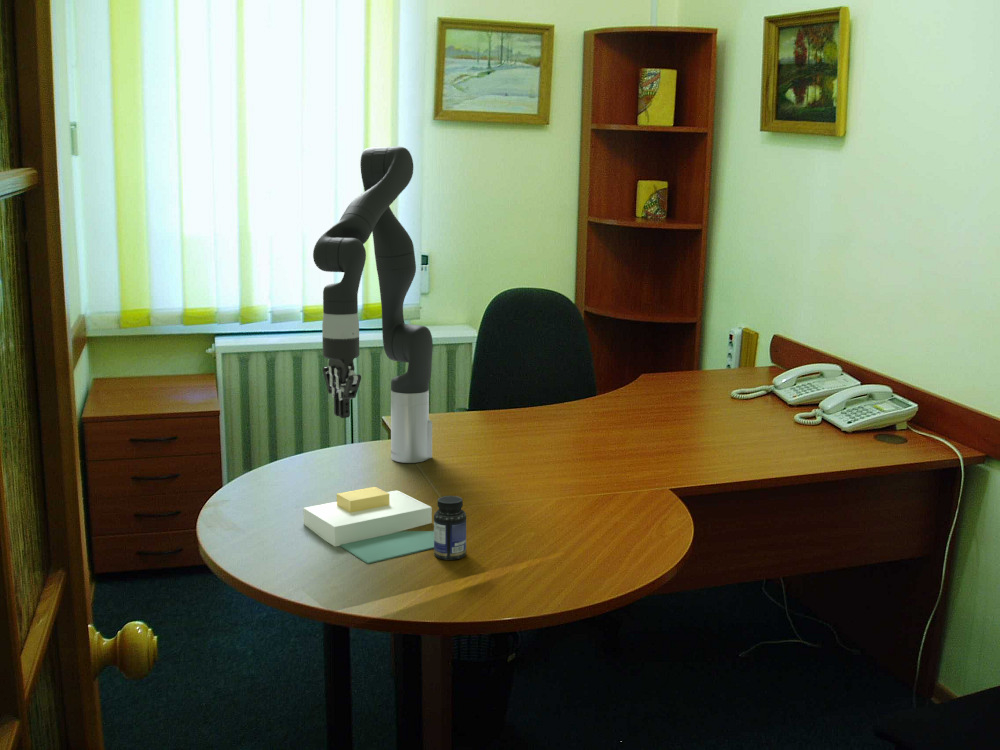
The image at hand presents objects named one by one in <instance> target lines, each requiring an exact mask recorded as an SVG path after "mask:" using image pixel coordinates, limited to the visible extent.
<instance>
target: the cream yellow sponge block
mask: <svg viewBox="0 0 1000 750" xmlns="http://www.w3.org/2000/svg"><path fill="white" fill-rule="evenodd" d="M387 492H388V491H385V490H383V489H380V488H379V487H377V486H372V487H365V488H361V489H355V490H350V491H345V492H344V491H343V492H338V493H336V502H337V505H338V506H340V507H341V508H343V509H345V510H347V511H348V512H350V513H351V512H356V511H361V510H366V509H372V508H377V507H382V506H387V505H390V504H389V493H387Z"/></svg>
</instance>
